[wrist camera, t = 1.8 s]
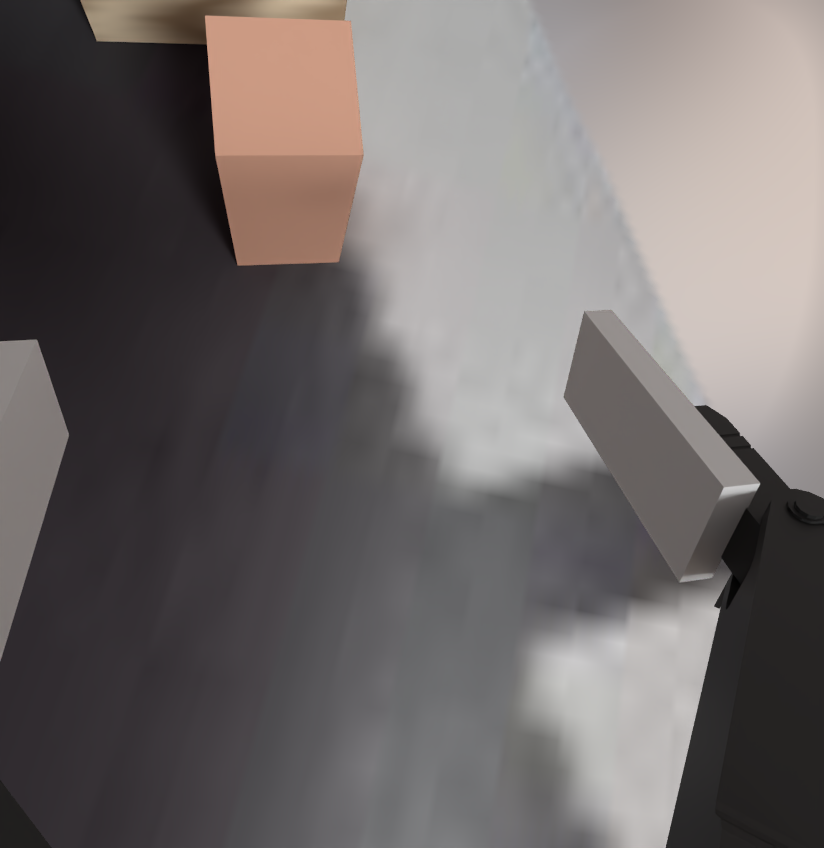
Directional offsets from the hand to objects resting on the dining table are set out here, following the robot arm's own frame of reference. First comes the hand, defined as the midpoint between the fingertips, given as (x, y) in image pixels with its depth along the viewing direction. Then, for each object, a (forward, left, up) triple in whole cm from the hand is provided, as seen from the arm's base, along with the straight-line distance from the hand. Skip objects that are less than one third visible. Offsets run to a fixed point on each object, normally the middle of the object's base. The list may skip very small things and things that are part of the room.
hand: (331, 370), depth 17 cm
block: (-7, +8, -17) cm, 20 cm away
